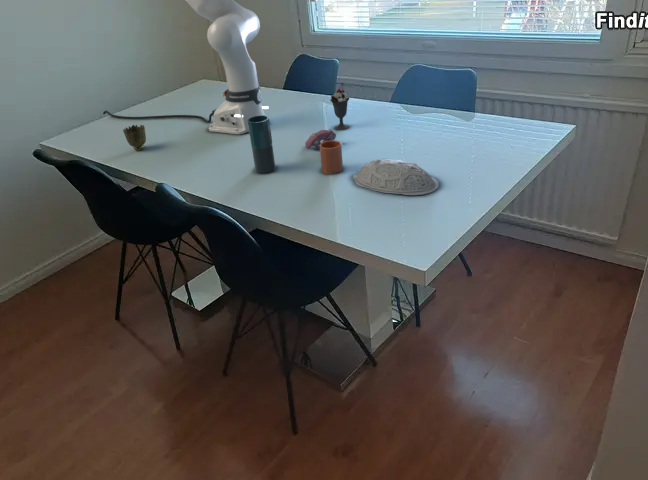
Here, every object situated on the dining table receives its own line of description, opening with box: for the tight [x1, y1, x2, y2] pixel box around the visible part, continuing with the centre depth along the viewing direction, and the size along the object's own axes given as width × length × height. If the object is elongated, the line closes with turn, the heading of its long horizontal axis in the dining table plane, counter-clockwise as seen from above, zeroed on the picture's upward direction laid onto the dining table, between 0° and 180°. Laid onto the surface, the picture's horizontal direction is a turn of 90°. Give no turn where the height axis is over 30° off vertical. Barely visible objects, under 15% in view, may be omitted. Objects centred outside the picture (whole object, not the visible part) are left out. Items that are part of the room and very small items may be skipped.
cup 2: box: [122, 124, 147, 152], centre depth 194 cm, size 8×7×8 cm
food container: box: [352, 158, 440, 196], centre depth 152 cm, size 16×25×7 cm, turn 52°
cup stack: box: [247, 115, 277, 175], centre depth 165 cm, size 6×6×16 cm
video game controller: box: [304, 128, 337, 149], centre depth 179 cm, size 10×5×7 cm, turn 118°
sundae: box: [329, 82, 350, 131], centre depth 190 cm, size 7×7×15 cm
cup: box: [319, 140, 344, 175], centre depth 162 cm, size 6×6×8 cm
